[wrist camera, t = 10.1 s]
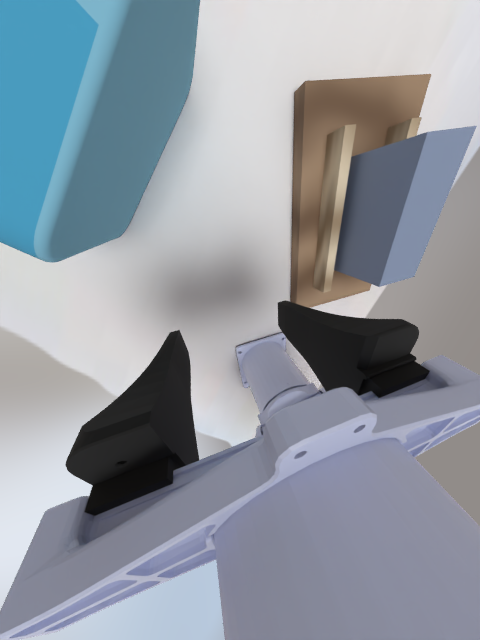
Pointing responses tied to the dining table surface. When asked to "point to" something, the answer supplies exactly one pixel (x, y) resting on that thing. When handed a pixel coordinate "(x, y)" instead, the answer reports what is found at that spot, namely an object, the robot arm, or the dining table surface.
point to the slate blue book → (397, 204)
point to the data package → (86, 114)
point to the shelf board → (339, 168)
